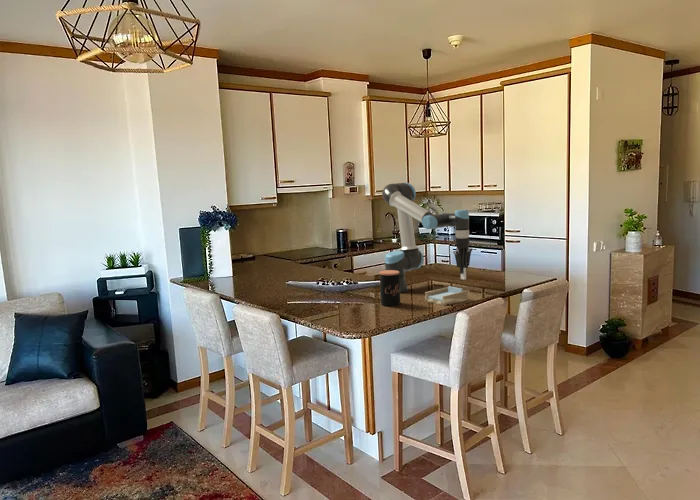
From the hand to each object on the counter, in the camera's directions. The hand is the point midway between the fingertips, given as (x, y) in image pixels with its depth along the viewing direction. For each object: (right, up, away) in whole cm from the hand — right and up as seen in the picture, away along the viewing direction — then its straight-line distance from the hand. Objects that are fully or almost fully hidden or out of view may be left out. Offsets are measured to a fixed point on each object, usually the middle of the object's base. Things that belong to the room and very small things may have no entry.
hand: (463, 279), depth 301 cm
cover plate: (-11, -10, -6) cm, 16 cm away
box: (-11, -11, -6) cm, 17 cm away
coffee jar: (-42, -13, -9) cm, 45 cm away
